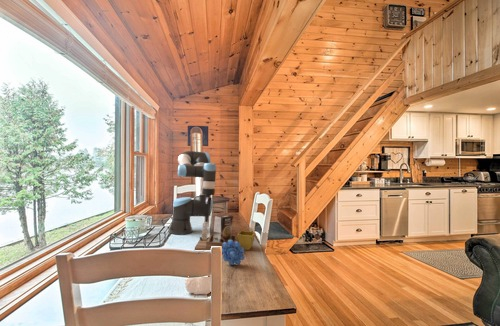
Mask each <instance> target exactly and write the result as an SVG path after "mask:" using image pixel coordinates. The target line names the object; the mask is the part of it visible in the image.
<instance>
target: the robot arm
mask: <svg viewBox="0 0 500 326" xmlns="http://www.w3.org/2000/svg"><path fill="white" fill-rule="evenodd" d="M177 163H178V167H177V176H178V177H180V178H181V177H183V178H195V196H194V197H193V199H192V197H190V196H188V197H187V196H185V197H184V196H183V197H177V198H175V199H174V200H173V205H172V207H173V209H172V221H171V223H170V225H169V228H168V232H170V233H169V234H172V235H176V236H177V235H179V236H180V235H181V234H183V235H188V233H189V234H191V233H192V232H193V227H192V223H191V217H204V218H203V219H204V220H203V223H208V224H207V228H209V227H210V216H211V215H212V211H213V204H214V202H213V199H212V196H214V195H215V192H216V191H215V190H216V189H215V187H216V185H217V183H216V175H217V164H216V163H214V162H212V163H211V156H210V154H209V152H206V151H195V150H194V151H193V150H187V151H184V152H181V153H179V155H178V157H177ZM181 236H182V235H181Z"/></svg>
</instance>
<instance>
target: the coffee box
mask: <svg viewBox="0 0 500 326" xmlns="http://www.w3.org/2000/svg"><path fill="white" fill-rule="evenodd" d="M233 219H234V215H230V214H221V215H215V216H214V223H213V234H214V236H213V242H222V243H224V242H227V243H228V240H230V239H231V237H232V235H233V222H234V220H233Z"/></svg>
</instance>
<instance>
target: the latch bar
mask: <svg viewBox="0 0 500 326" xmlns="http://www.w3.org/2000/svg"><path fill="white" fill-rule="evenodd" d="M207 224H208V223H204V222H203V223H202V233H201V234H202V236H201V237H202V240H207V237H208V227H207Z"/></svg>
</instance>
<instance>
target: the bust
mask: <svg viewBox="0 0 500 326" xmlns="http://www.w3.org/2000/svg"><path fill="white" fill-rule="evenodd" d="M185 288H186V291H187V292H188V293H190V294H194V295H195V296H196V295H208V294H210V277H201V278H185Z"/></svg>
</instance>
